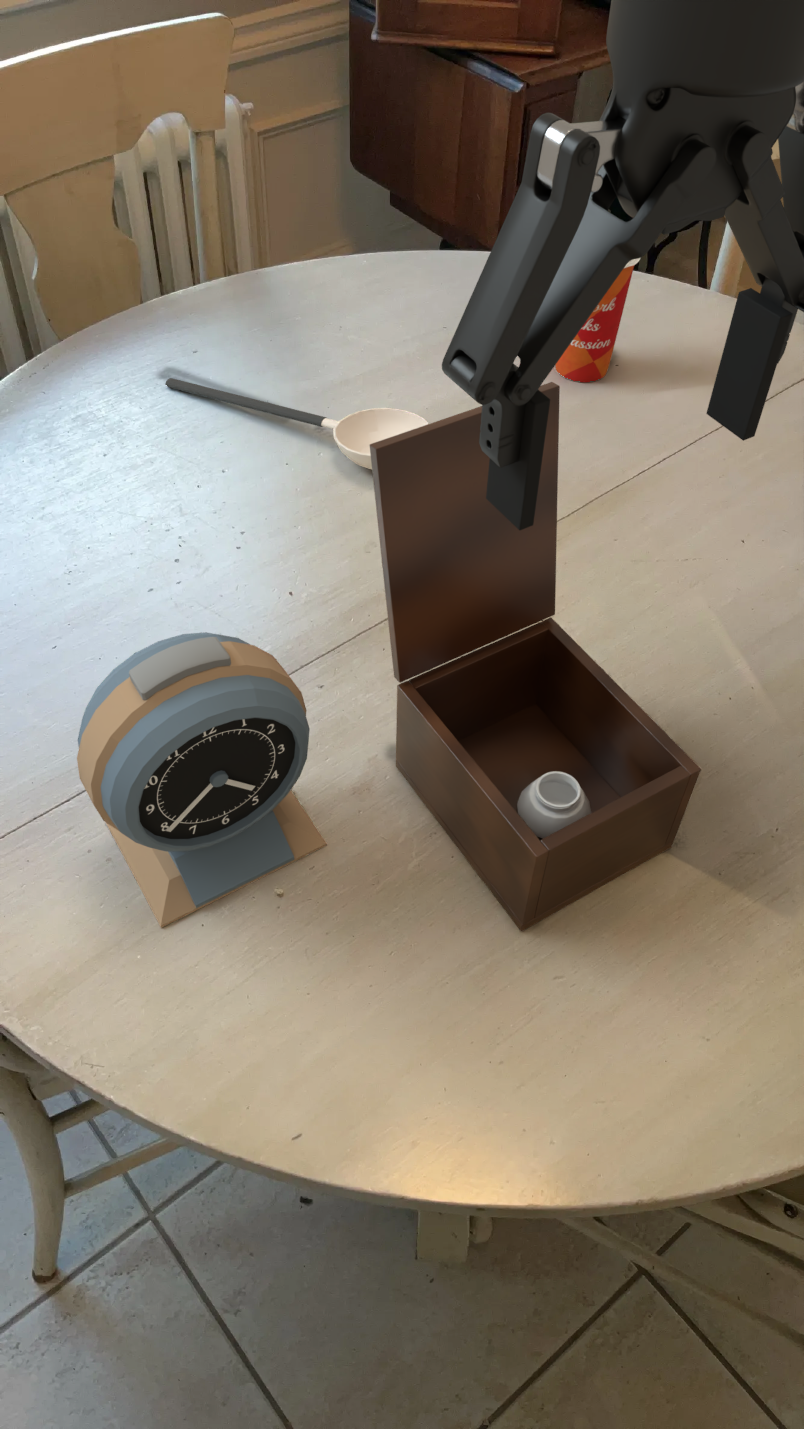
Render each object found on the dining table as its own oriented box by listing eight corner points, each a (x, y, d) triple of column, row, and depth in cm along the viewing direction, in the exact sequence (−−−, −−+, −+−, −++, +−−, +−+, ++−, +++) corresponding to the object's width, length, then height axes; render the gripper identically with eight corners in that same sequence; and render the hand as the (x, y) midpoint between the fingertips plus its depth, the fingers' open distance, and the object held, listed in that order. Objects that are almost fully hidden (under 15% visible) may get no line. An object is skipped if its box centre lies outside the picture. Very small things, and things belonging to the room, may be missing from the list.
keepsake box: (672, 847, 73) (701, 768, 66) (521, 932, 68) (536, 857, 61) (536, 699, 81) (551, 616, 75) (395, 766, 77) (396, 684, 70)
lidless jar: (504, 798, 74) (538, 854, 71) (508, 773, 72) (543, 829, 69) (566, 776, 75) (602, 829, 72) (572, 750, 73) (609, 804, 70)
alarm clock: (146, 935, 68) (88, 766, 54) (91, 827, 73) (25, 649, 59) (339, 838, 73) (330, 663, 59) (274, 744, 78) (252, 563, 65)
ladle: (411, 496, 96) (405, 455, 93) (156, 435, 109) (144, 397, 106) (451, 450, 101) (447, 409, 98) (202, 396, 114) (192, 359, 110)
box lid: (560, 385, 63) (551, 381, 64) (376, 449, 59) (368, 444, 59) (555, 614, 74) (548, 609, 74) (399, 683, 69) (393, 677, 70)
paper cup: (531, 372, 111) (548, 241, 101) (567, 341, 116) (586, 212, 105) (597, 396, 109) (621, 264, 98) (631, 364, 113) (657, 234, 102)
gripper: (908, -136, 41) (760, 359, 57) (349, -48, 32) (361, 506, 48) (1076, -91, 37) (865, 429, 53) (488, 24, 28) (450, 603, 44)
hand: (624, 467), depth 51 cm, fingers open, 13 cm apart
